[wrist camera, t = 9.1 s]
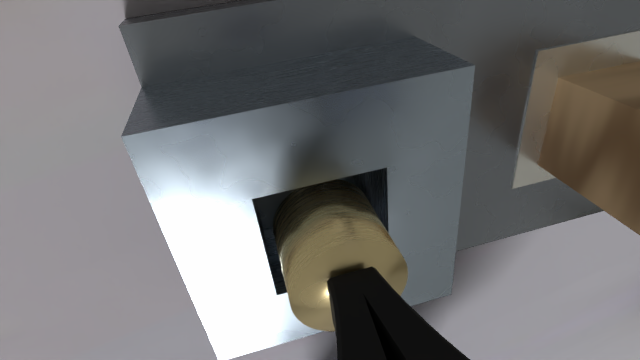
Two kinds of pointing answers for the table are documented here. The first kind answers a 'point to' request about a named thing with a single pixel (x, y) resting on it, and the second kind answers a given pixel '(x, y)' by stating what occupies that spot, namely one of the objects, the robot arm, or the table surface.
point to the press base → (353, 132)
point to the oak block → (598, 139)
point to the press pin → (330, 246)
